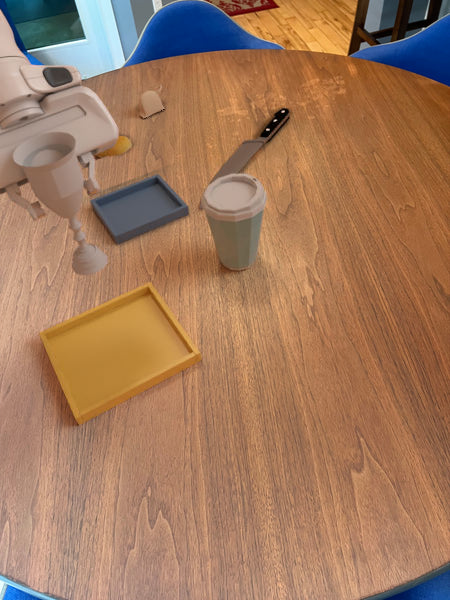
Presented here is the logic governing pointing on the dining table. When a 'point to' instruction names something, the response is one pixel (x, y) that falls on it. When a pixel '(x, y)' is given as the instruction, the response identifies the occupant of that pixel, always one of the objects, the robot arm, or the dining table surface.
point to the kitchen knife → (252, 146)
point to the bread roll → (117, 147)
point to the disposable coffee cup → (235, 218)
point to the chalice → (61, 191)
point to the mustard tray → (117, 351)
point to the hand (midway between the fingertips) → (68, 205)
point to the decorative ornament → (150, 102)
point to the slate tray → (139, 208)
